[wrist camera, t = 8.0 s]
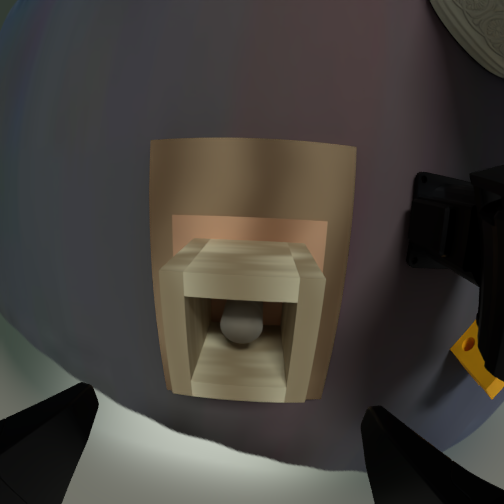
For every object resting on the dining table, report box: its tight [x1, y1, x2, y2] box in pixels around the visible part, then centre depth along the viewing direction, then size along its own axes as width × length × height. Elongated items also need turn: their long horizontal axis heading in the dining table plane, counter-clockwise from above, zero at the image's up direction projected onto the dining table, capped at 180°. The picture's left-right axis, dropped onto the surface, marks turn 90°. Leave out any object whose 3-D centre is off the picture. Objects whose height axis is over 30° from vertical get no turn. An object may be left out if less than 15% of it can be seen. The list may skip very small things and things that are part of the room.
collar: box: [159, 238, 326, 402], centre depth 14 cm, size 6×6×6 cm
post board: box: [149, 138, 356, 399], centre depth 16 cm, size 12×18×6 cm, turn 178°
